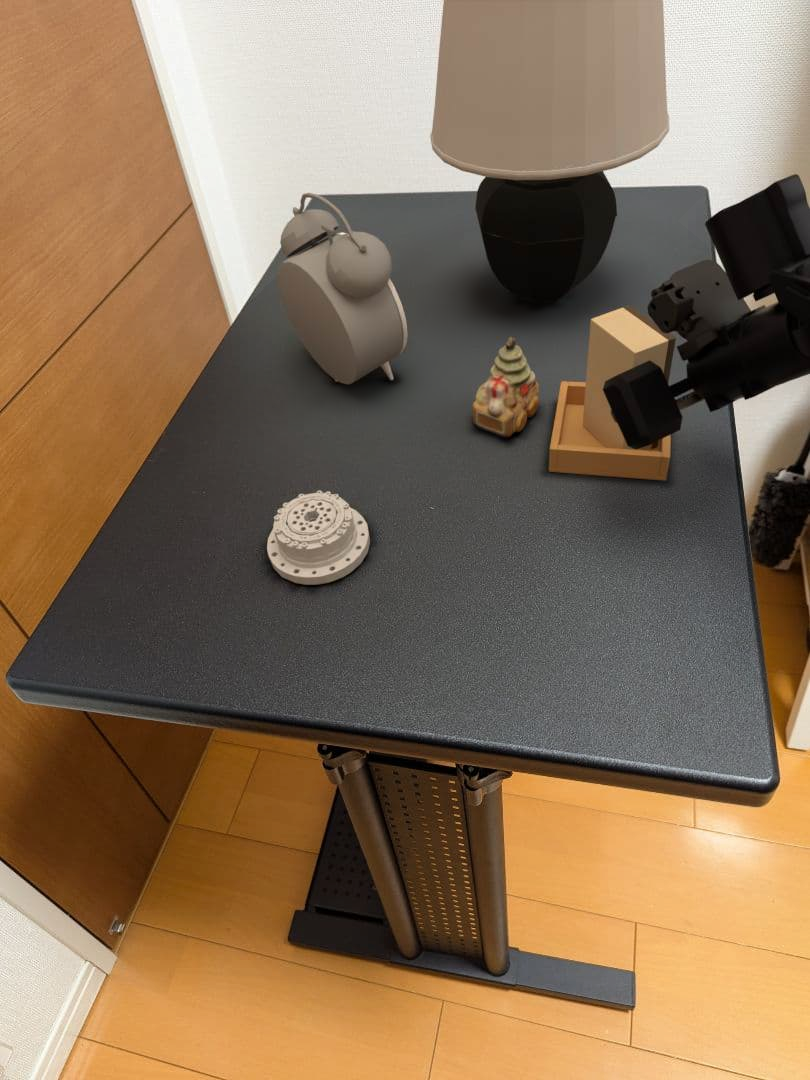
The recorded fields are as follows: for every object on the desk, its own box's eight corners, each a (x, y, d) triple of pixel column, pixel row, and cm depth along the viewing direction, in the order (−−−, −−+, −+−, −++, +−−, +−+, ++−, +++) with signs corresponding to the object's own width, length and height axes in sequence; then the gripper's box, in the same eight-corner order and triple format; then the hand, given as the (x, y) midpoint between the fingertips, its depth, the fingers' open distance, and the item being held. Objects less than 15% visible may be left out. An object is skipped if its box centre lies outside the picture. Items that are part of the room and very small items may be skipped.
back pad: (617, 412, 84) (629, 304, 75) (657, 447, 79) (676, 337, 70) (582, 425, 83) (590, 318, 74) (621, 462, 78) (635, 353, 69)
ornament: (517, 446, 83) (517, 367, 76) (465, 433, 85) (460, 356, 78) (544, 404, 87) (546, 326, 80) (494, 393, 90) (492, 316, 82)
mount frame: (667, 409, 84) (671, 386, 82) (665, 480, 77) (670, 457, 75) (560, 403, 87) (561, 380, 85) (548, 471, 80) (549, 448, 77)
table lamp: (628, 362, 91) (680, -59, 62) (414, 338, 99) (372, -42, 71) (660, 254, 108) (713, -118, 79) (475, 241, 116) (461, -98, 87)
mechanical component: (299, 504, 80) (251, 573, 74) (289, 472, 77) (239, 542, 71) (386, 523, 77) (344, 597, 71) (380, 491, 74) (335, 565, 68)
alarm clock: (421, 386, 92) (401, 203, 76) (362, 418, 89) (329, 234, 73) (345, 334, 102) (313, 163, 86) (290, 361, 99) (246, 188, 83)
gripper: (820, 209, 60) (693, 286, 75) (630, 289, 55) (536, 354, 70) (875, 341, 60) (739, 391, 75) (693, 432, 55) (586, 466, 70)
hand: (652, 397), depth 73 cm, fingers open, 9 cm apart
